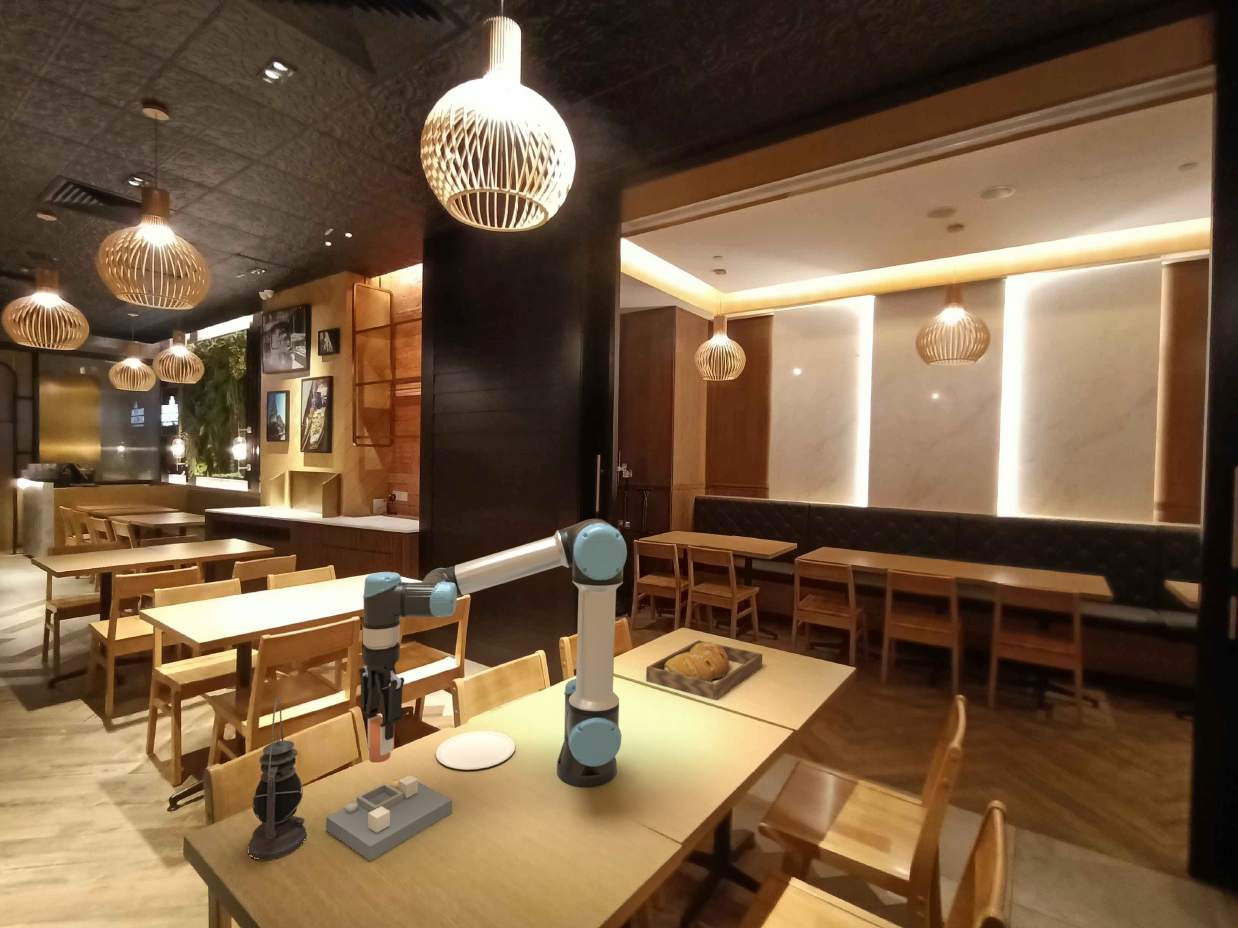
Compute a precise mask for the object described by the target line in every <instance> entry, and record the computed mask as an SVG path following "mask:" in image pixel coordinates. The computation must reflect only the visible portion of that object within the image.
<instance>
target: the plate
mask: <svg viewBox="0 0 1238 928" xmlns="http://www.w3.org/2000/svg"><path fill="white" fill-rule="evenodd" d="M515 751H516V744H515V741H514V740H513V738H511V737H510V736H508V735H506V734H504V733H501V732H497V731H493V730H492V731H490V730H477V731H469V732H464V733H460V734H456V735H454V736H452V737H450V738H448V739H446V740H444V741H443V742H442V743H441V744H440V745H439V746H438V747H437V749H436V752H435V756H436V757H435V758H436V760H437V761H438V762H439V764H441V765H443V766H445V767H446V768H449V769H453V770H455V771H456V770H459V771H479V770H485V769H489V768H493V767H496V766H498V765H500V764H502V763H504V762H506V761H507V760H508V759H510V758H511V757H512V756H513V754H514V752H515Z"/></svg>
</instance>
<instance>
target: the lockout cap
mask: <svg viewBox="0 0 1238 928" xmlns="http://www.w3.org/2000/svg"><path fill="white" fill-rule="evenodd" d="M382 723H383V719H382V716H381V717H379V718H377V719H374V720H372V721H370V731H369V749H368V760H369V761H370V762H371V763H382V762H386V761H388V760H389V759H390V758H391V752H392V751H391V752H389V753H387V754H385V755H380V724H382Z"/></svg>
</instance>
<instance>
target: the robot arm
mask: <svg viewBox="0 0 1238 928" xmlns="http://www.w3.org/2000/svg"><path fill="white" fill-rule="evenodd" d="M627 555H628V551H627V544H626V541H625V539H624V537H623V535H622V534H621V532H620V531H619V530H618V529H617V528H616V527H614V526H612V525H611V523H609V522H607V521H606V520H604V519H601V518H591V519H590V518H589V519H586V520H583V521H580V522H578V523H576V524H573V525H570V526H567V527H565V528H562V529H561V528H560V529H559V530H558V529H557V530H556V532H555V533H554V535H552V536H549V537H545V538H542V539H539V540H535V541H533V542H529V543H525V544H523V545H519V546H516V547H513V548H509V549H506V550H503V551H499V552H496V553H493V554H490V555H489V554H488V555H486V556H483V557H479V558H476V559H472V560H469V561H465V562H462V563H459V564H455V565H454V566H449V567H446V568H444V567H439V568H436V569H433V570H431V571H430V572H429V573H427V574H426V576H425V577H424V578H423V580H422V581H421V582H405V581H404V582H403V581H402V578H401V575H400V574H399V573H397V572H392V571H381V572H374V573H371V574H369V575H367V576H366V578H365V579H364V589H363V596H362V598H363V625H362V627H363V628H362V630H363V631H362V633H363V634H362V645H364V646H363V648H362V663H363V664H364V665H365V666H363V667H360V668H359V670H358V672H359V678H360V711H361V713H363V714H365V717H366V719H367V721H366V723H367V724H366V725H367V727H366V728H367V749H368V750H369V731H370V721H372V720H374V719H377V718H379V717H382V719H383V723H382V724H380V755H385V754H387V753H389V752H393V751H394V737H395V724H397V723H399V722H401V721H402V706H403V704H402V703H403V686H404V684H405V678H404V677H399V676H397V671H396V667H395V666H396V664H397V663H398V661H399V660H400V655H401V653H400V650H401V649H400V646H401V645H400V643H399V642H400V634H401V633H400V630H401V627H400V624H401V618H436V619H437V618H439V619H440V618H442V617H451V616H453V615H454V614H455V613H456V608H457V602H458V597H459V598H460V597H462V596H465V595H468V594H472V593H475V592H478V591H482V590H485V589H488V588H491V587H494V586H498V585H502V584H505V583H508V582H512V581H515V580H517V579H522V578H525V577H528V576H531V575H535V574H538V573H541V572H544V571H548V570H551V569H554V568H557V567H561V566H563V567H565V568H571V567H572V578H571V579H572V583H573V584H574V585H575V587H577V589H578V597H577V598H578V600H577V601H578V602H577V603H578V606H577V633H576V634H577V635H576V638H577V640H576V642H577V643H576V672H575V673H576V674H575V675H576V676H575V678H574V679H570V680H568V681H567V683H566V684H565V686H564V687H565V690H564V693H563V694H564V737H563V740H564V741H563V744H562V747H561V750H560V752H559V755H558V758H557V761H556V762H557V763H556V774H557V776H558V778H559V779H560V780H561V781H563V782H564V783H567V784H568V785H572V786H575V787H583V788H584V787H587V788H590V787H597V786H601V785H604V784H606V783H608V782H610V781H611V780H612V779H614V777H616V775H617V770H618V769H617V766H618V764H617V759H616V756H617V755H618V753H619V751H620V749H621V745H622V733H621V729H620V727H619V723H620V722H619V721H620V720H619V718H620V698H619V696H618V695H617V694H616V693H615V692H614V672H615V671H614V666H615V637H616V636H615V634H616V633H615V631H616V602H617V601H616V600H617V589H618V588H619V587H620V586H621V585H622V584H623V583H624V581H623V579H624V566H625V563H626V560H627ZM380 706H381V707H380ZM380 708H381V710H380ZM380 714H381V715H380Z"/></svg>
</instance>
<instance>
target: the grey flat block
mask: <svg viewBox="0 0 1238 928" xmlns="http://www.w3.org/2000/svg"><path fill="white" fill-rule="evenodd" d="M399 780H400V779H395V780H392V781H391V783H390V784H388V783H386V782H384V783H381V784H380V785H378V786H376V787H373V788H372V789H369V790H367V791H365V792H364V793H361V794H360V795H358V796H356V801H351V802H348V803H346V804H345V807H343V808H342V809H340V810H338V811H336V812H333V813H332V814H330V815H328V816H326V818H325V819H326V820H325V821H326V822H325V823H326V827H325V829H326V830H325V831H326V832H327V833H328V832H329V833H328V834H329V835H331V836H333V837H334V836H335V837H334V838H336V839H337V838H338V839H339V840H338V839H337V840H338V841H340V840H341V841H342V843H343V844H344V843H345V844H344V845H346V846H347V847H348V846H349V848H350V847H351V848H352V850H353V851H354V850H355V851H354V852H356V853H357V854H358V853H359V854H358V855H360V856H361V855H362V856H361V857H362V858H365V859H366V860H367V861H368V862H372V861H374V860H376V859H377V858H379V857H380V856H382V855H384V854H385V853H388V852H389V851H391V850H393V849H394V848H396V847H397V846H399V845H400V844H402V843H404V842H405V841H408V840H409V839H411V838H412V837H414V836H417V834H419V833H421V832H423V831H424V830H425V829H427V828H429V827H431V826H432V825H433V826H434V824H435V823H437V822H439V821H441V820H443V819H444V818H446V817H448V816H449V815H451V814H453V799H452V798H450V797H448V796H446V795H445V794H442V793H440V792H438V791H437V790H435V789H433V788H431V787H429V786H427V785H426V784H423V783H422V782H419V781H418V793H416V794H414V795H412V796H410V797H408V798H405V797H404V793H402V792H401V791H399V790H398V781H399ZM381 806H382V807H384V808H385V809H387V810H389V811H390V826H388V827H386V828H385V829H383V830H381V831H379V832H378V833H376V832H374V831H373V830H371V829H370V828H368V813H369V812H371V811H373V810H375V809H377V808H379V807H381ZM341 841H340V842H341ZM351 848H350V849H351Z"/></svg>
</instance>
